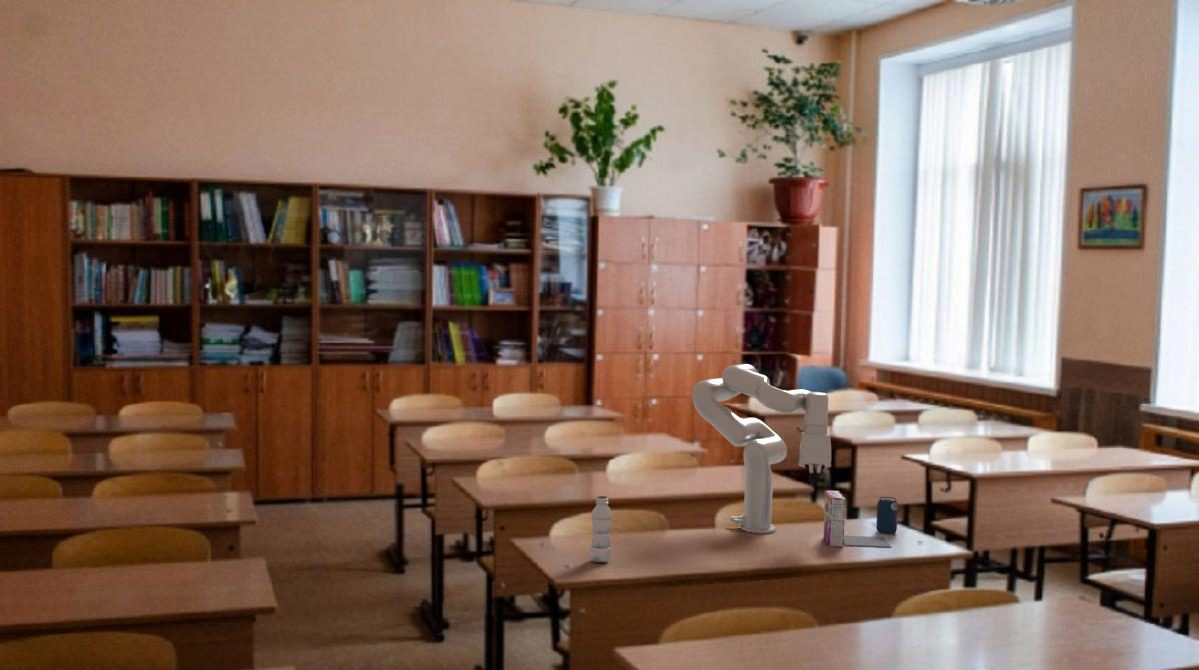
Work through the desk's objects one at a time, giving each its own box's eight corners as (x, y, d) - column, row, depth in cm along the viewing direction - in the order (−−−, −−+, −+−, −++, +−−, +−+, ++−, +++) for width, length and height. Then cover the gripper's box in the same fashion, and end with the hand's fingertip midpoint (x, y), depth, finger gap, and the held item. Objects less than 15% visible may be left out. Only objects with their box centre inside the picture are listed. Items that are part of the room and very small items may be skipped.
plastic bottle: (585, 562, 326) (587, 498, 324) (596, 557, 332) (598, 493, 330) (604, 566, 323) (606, 501, 321) (614, 560, 329) (616, 496, 327)
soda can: (900, 534, 369) (902, 500, 369) (882, 535, 368) (884, 501, 367) (889, 529, 376) (891, 496, 375) (872, 530, 374) (873, 496, 373)
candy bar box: (822, 537, 363) (824, 490, 361) (837, 538, 363) (839, 490, 361) (828, 546, 352) (830, 497, 350) (843, 547, 351) (846, 498, 350)
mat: (845, 545, 353) (845, 544, 353) (839, 536, 365) (839, 535, 365) (891, 547, 353) (891, 546, 352) (883, 538, 364) (883, 537, 364)
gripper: (794, 430, 351) (792, 485, 352) (840, 431, 350) (838, 487, 351) (791, 427, 358) (789, 481, 360) (836, 428, 358) (834, 482, 359)
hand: (814, 484), depth 356 cm, fingers closed
